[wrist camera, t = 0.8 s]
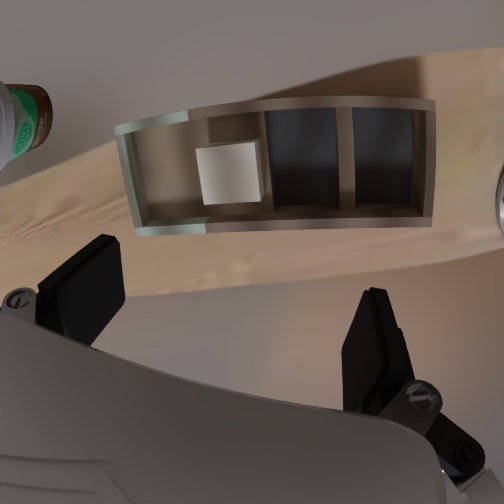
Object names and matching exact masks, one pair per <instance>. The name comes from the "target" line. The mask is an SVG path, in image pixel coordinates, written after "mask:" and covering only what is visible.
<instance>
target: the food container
mask: <svg viewBox="0 0 504 504" xmlns="http://www.w3.org/2000/svg"><path fill="white" fill-rule="evenodd" d="M52 119H53V111H52V104H51V101H50V98H49V96H48V94H47V92H46V91H45V90H44V89H43V88H42V87H40V86H37V85H22V84H3V83H2V82H1V81H0V170H1V169H2V168H3V167H4V166H5V164H6V163H7V162H8V161H10V160H12V159H14V158H16V157H18V156H20V155H22V154H24V153H26V152H29V151H30V150H33V149H35V148H37V147H39V146H40V145H41V144H43V142H44V141H45V140H46V138H47V137H48V135H49V132H50V129H51V126H52Z"/></svg>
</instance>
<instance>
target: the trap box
mask: <svg viewBox="0 0 504 504" xmlns="http://www.w3.org/2000/svg"><path fill="white" fill-rule="evenodd" d="M114 129H115V135H116V141H117V147H118V152H119V158H120V163H121V168H122V173H123V178H124V183H125V187H126V192H127V197H128V201H129V206H130V210H131V214H132V218H133V222H134V226H135V230H136V234H137V237H138V236H157V235H176V234H197V233H220V232H244V231H271V230H302V229H339V228H390V227H431V224H432V214H433V202H434V189H435V169H436V113H435V100H428V99H417V98H403V97H385V96H310V97H291V98H277V99H265V100H255V101H246V102H237V103H229V104H222V105H215V106H209V107H202V108H196V109H190V110H185V111H179V112H174V113H169V114H164V115H160V116H155V117H150V118H146V119H141V120H137V121H133V122H129V123H125V124H121V125H117V126H114ZM250 138H261V142H262V151H263V161H264V171H265V181H266V191H265V193H264V195H263V197H262V199H261V201H257V202H239V203H224V204H209V205H204V201H203V195H202V189H201V183H200V176H199V170H198V163H197V156H196V150H195V149H196V148H199V147H201V146H203V145H206V144H208V143H213V142H221V141H230V140H240V139H250Z"/></svg>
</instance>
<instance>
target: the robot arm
mask: <svg viewBox="0 0 504 504" xmlns="http://www.w3.org/2000/svg"><path fill="white" fill-rule="evenodd" d="M496 214H497V220H498V224H499V227H500V229H501V231H502V233H503V235H504V173H503V175H502V178H501V180H500V183H499V187H498V191H497V198H496ZM38 289H39V292H38V293H37V294H36V292H35V291H34V290H33V289H31V288H26V287H25V288H18V289H15V290H13V291H11V292H10V293H8V294H7V295H6V296H5V297H4V299H3V302H2V307H0V504H504V488H503V486H502V485H501V483H500V482H499V480H498V479H497V478H496V476H495V475H494V473H493V472H492V470H491V469H490V468H489V469H487V470H486V469H485V468H484V463H485V454H484V450H483V448H482V446H481V445H480V444H479V443H478V442H477V441H476V440H475V439H474V438H472V437H471V436H470V435H468V434H467V433H466V432H465V431H463V430H462V429H461V428H460V427H458V426H457V425H456V424H455V423H453V422H452V421H451V420H449V419H448V418H447V417H446V416H445V415H443V414H442V413H441V412H440V410H441V408H442V405H443V402H442V397H441V394H440V393H439V391H438V390H437V389H436V388H435V387H434V386H433V385H432V384H430V383H428V382H426V381H423V380H415V376H414V372H413V368H412V365H411V361H410V357H409V353H408V350H407V346H406V342H405V339H404V336H403V332H402V330H401V329H400V328H398V327H397V323H396V320H395V316H394V313H393V310H392V306H391V303H390V300H389V297H388V294H387V291H386V290H385V289H379V288H374V287H371V288H370V289H369V291H368V290H365V291H364V292H363V295H362V298H361V300H360V303H359V306H358V308H357V311H356V313H355V316H354V319H353V321H352V324H351V326H350V329H349V331H348V334H347V336H346V339H345V341H344V343H343V346H342V352H341V356H342V376H343V377H342V379H343V411H342V410H337V409H330V408H323V407H316V406H310V405H303V404H298V403H293V402H287V401H281V400H276V399H270V398H265V397H261V396H256V395H250V394H246V393H241V392H237V391H233V390H229V389H225V388H221V387H216V386H213V385H209V384H204V383H201V382H197V381H193V380H190V379H186V378H182V377H179V376H176V375H172V374H169V373H165V372H162V371H159V370H156V369H153V368H149V367H147V366H144V365H141V364H138V363H135V362H132V361H128V360H126V359H123V358H120V357H117V356H115V355H112V354H109V353H106V352H104V351H101V350H98V349H95V348H93V347H91V346H90V345H91V344H92V343H93V342H94V340H95V339H96V338H97V337H98V335H99V334H100V333H101V332H102V330H103V329H104V328H105V327H106V325H107V324H108V323H109V321H110V320H111V319H112V318H113V317H114V316H115V314H116V313H117V312H118V311H119V309H120V308H121V307H122V306H123V304H124V302H125V290H124V282H123V273H122V263H121V252H120V243H119V241H117V239H116V237H115V236H110V235H106V234H101V235H99V236H98V237H97V238H95V239H94V240H93V241H91V242H90V243H89V244H87V245H86V246H85V247H84V248H82V249H81V250H80V251H78V252H77V253H76V254H75V255H73V256H72V257H71V258H69V259H68V260H67V261H66V262H64V263H63V264H62V265H61V266H60V267H58V268H57V269H56V270H55V271H53V272H52V273H51V274H50V275H49V276H47V277H46V278H45V279H44V280H43V281H41V282H40V283H39V284H38Z"/></svg>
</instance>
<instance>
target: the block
mask: <svg viewBox="0 0 504 504" xmlns="http://www.w3.org/2000/svg"><path fill="white" fill-rule="evenodd" d="M195 150H196V156H197V163H198V170H199V176H200V183H201V189H202V195H203V201H204V205H209V204H224V203H239V202H257V201H261V199H262V197H263V195H264V193H265V191H266V181H265V171H264V161H263V151H262V142H261V138H250V139H240V140H230V141H221V142H213V143H208V144H206V145H203V146H201V147H199V148H196V149H195Z"/></svg>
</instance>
